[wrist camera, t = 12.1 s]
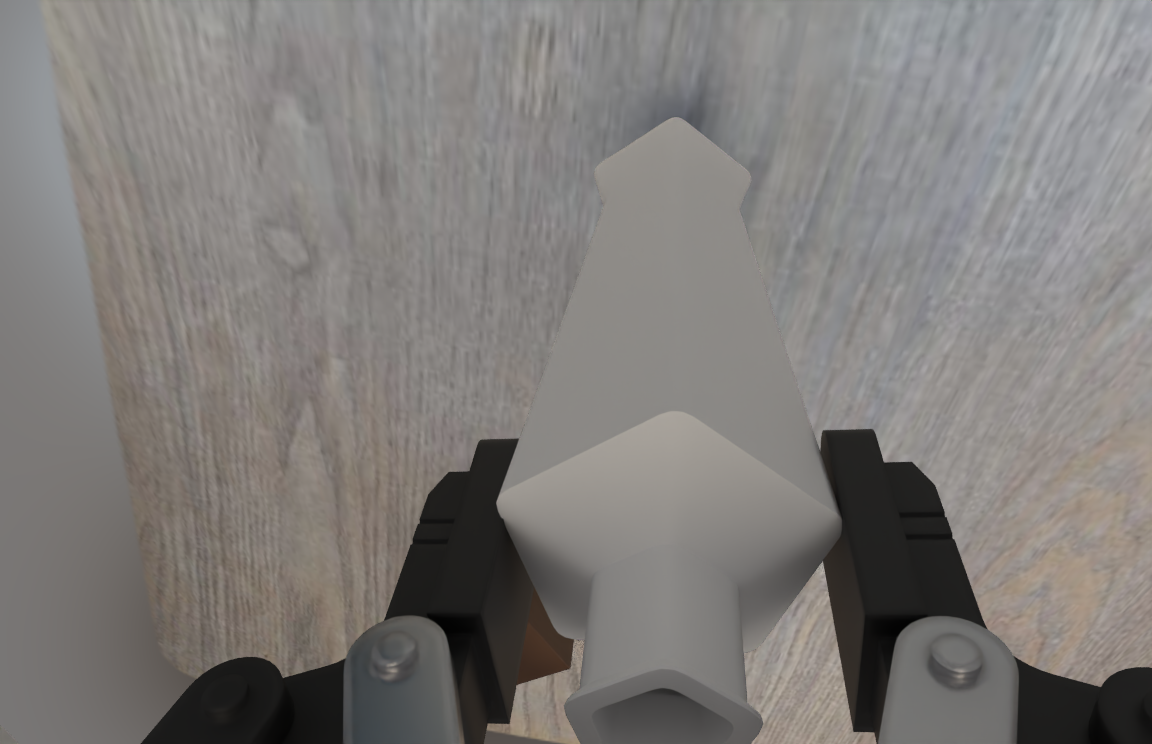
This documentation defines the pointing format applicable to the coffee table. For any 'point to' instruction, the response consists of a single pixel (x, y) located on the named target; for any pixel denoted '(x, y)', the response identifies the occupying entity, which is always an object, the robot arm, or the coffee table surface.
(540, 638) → the walnut block
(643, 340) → the perfume bottle
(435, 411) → the coffee table surface
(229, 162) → the coffee table surface
